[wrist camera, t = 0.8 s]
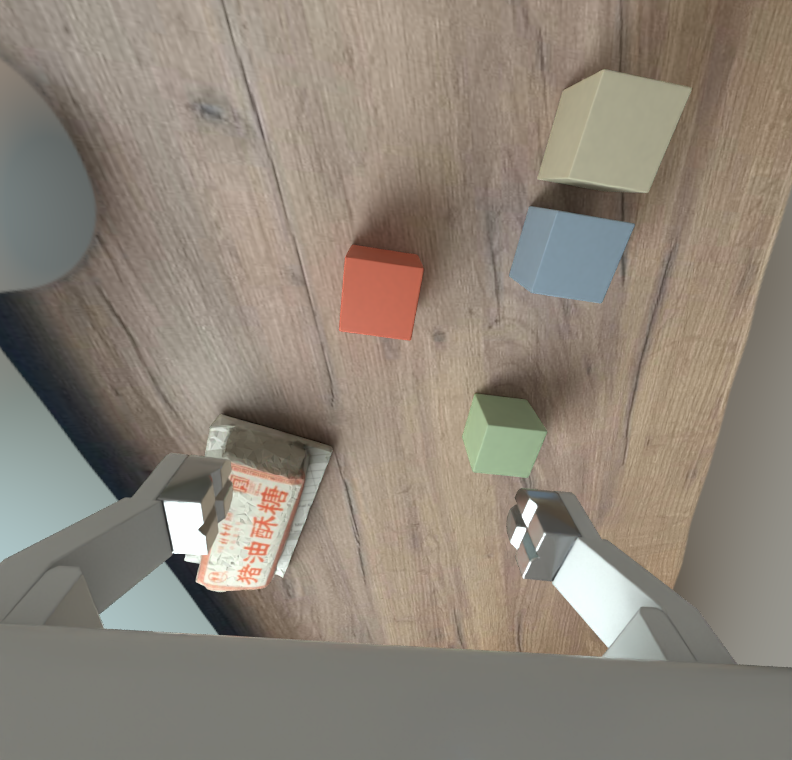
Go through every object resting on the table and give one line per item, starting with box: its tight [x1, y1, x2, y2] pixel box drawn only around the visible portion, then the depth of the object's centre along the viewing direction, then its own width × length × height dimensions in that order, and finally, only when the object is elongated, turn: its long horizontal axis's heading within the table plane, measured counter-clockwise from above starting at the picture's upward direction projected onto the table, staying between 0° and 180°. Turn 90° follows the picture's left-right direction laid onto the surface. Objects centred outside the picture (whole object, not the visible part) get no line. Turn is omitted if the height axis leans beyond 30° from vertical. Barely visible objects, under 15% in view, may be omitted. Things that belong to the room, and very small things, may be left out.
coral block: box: [339, 245, 424, 341], centre depth 24 cm, size 4×4×4 cm
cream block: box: [537, 69, 692, 193], centre depth 20 cm, size 4×4×4 cm
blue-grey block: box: [509, 206, 635, 303], centre depth 23 cm, size 4×4×4 cm
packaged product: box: [184, 414, 333, 592], centre depth 33 cm, size 18×5×10 cm
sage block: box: [462, 394, 547, 478], centre depth 29 cm, size 4×4×4 cm
